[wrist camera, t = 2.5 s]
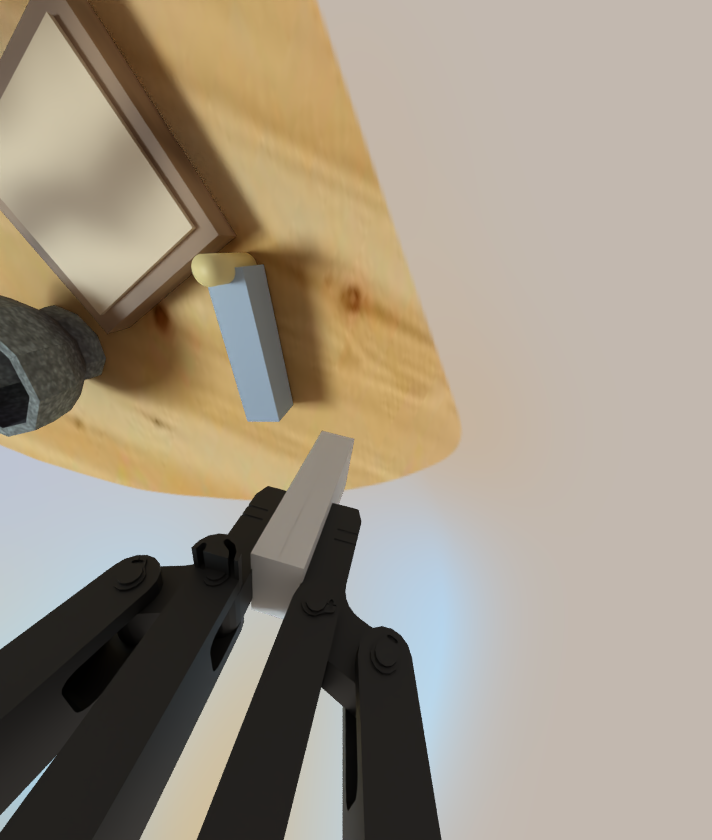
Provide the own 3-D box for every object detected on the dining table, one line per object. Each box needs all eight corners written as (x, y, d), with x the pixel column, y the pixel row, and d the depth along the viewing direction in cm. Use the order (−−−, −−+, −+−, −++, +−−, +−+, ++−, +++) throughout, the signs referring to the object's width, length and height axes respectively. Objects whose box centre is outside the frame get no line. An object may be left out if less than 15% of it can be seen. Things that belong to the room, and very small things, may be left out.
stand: (-8, 162, 20) (-54, 153, 18) (86, -2, 16) (38, -37, 14) (129, 327, 24) (103, 334, 22) (236, 235, 20) (215, 234, 18)
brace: (225, 254, 20) (179, 256, 16) (260, 250, 20) (221, 251, 16) (264, 404, 25) (236, 432, 22) (293, 404, 25) (269, 432, 21)
